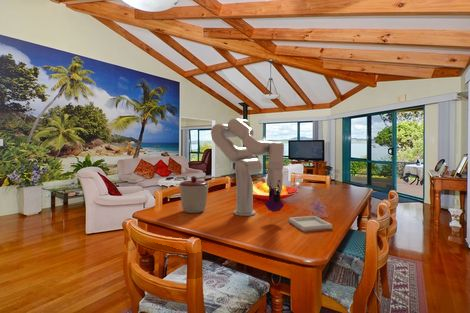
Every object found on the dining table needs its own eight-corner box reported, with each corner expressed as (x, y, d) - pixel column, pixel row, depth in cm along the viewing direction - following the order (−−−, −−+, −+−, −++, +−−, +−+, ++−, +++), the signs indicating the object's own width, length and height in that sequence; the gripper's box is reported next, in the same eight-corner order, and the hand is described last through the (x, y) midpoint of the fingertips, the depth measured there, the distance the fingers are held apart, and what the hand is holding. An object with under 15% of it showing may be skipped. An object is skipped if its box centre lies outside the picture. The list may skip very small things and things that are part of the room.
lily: (304, 219, 142) (311, 206, 137) (302, 206, 152) (309, 193, 148) (325, 226, 142) (333, 213, 137) (321, 212, 152) (328, 200, 148)
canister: (172, 213, 147) (172, 177, 146) (187, 206, 165) (187, 173, 164) (201, 216, 142) (201, 179, 141) (213, 208, 159) (213, 175, 158)
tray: (288, 222, 133) (288, 217, 133) (314, 219, 137) (314, 215, 137) (303, 231, 119) (304, 226, 118) (331, 229, 122) (332, 224, 122)
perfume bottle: (272, 213, 129) (273, 177, 128) (263, 209, 136) (265, 175, 134) (283, 211, 133) (285, 177, 131) (275, 207, 139) (276, 175, 138)
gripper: (262, 164, 140) (261, 196, 141) (275, 168, 123) (274, 205, 124) (275, 164, 142) (274, 196, 143) (290, 168, 125) (288, 204, 126)
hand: (274, 199), depth 134 cm, fingers closed on perfume bottle, 5 cm apart
